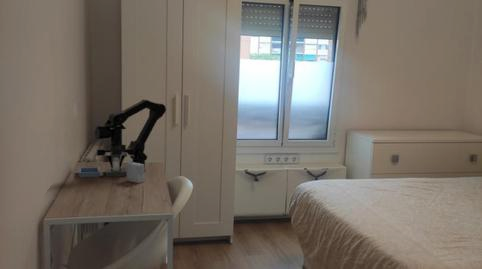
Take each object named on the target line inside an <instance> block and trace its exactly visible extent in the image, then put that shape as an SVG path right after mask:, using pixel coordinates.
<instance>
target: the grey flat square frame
mask: <svg viewBox="0 0 482 269" xmlns="http://www.w3.org/2000/svg"><path fill="white" fill-rule="evenodd" d="M105 171H106V172H105ZM105 171H104V172H105V177H121V176H124V177H127V167H121V168H120V171H112V168H111V167H105Z"/></svg>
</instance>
